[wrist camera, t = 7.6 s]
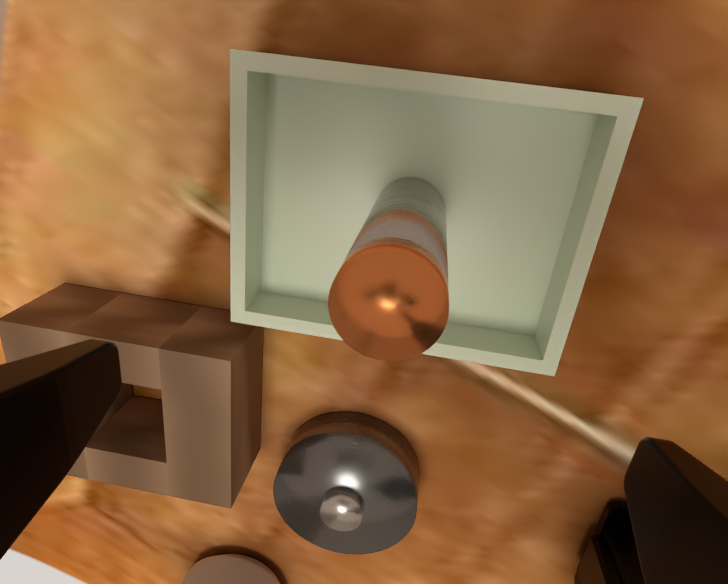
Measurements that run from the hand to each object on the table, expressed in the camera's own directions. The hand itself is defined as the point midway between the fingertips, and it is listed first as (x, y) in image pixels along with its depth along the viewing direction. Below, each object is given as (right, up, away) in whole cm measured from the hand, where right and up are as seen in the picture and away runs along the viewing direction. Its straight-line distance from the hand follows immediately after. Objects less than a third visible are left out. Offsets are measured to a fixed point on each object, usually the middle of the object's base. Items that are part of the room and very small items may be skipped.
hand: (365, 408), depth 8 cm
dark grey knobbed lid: (-1, -7, +17) cm, 19 cm away
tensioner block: (-10, -2, +17) cm, 20 cm away
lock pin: (+2, +5, +11) cm, 12 cm away
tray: (+2, +5, +12) cm, 13 cm away
